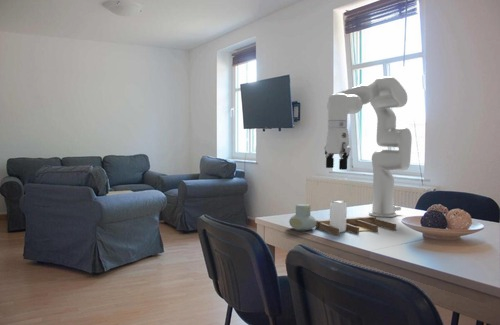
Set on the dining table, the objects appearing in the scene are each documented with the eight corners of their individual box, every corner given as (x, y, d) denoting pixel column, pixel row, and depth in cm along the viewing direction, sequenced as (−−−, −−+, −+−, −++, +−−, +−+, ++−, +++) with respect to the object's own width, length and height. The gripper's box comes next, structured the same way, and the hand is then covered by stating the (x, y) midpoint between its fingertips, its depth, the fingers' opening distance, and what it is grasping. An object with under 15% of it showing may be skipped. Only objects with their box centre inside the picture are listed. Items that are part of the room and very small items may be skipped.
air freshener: (319, 230, 162) (320, 205, 162) (306, 233, 157) (306, 207, 156) (299, 225, 170) (299, 202, 170) (285, 228, 165) (286, 204, 164)
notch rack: (373, 223, 177) (373, 216, 177) (397, 230, 163) (397, 223, 163) (315, 227, 167) (315, 220, 167) (335, 235, 153) (335, 228, 153)
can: (346, 229, 163) (347, 200, 163) (345, 233, 157) (345, 202, 157) (330, 228, 165) (331, 199, 165) (328, 231, 159) (329, 201, 159)
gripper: (358, 125, 153) (357, 170, 154) (333, 126, 169) (332, 167, 170) (341, 124, 151) (340, 170, 152) (318, 125, 167) (317, 167, 168)
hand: (336, 168), depth 161 cm, fingers open, 9 cm apart
